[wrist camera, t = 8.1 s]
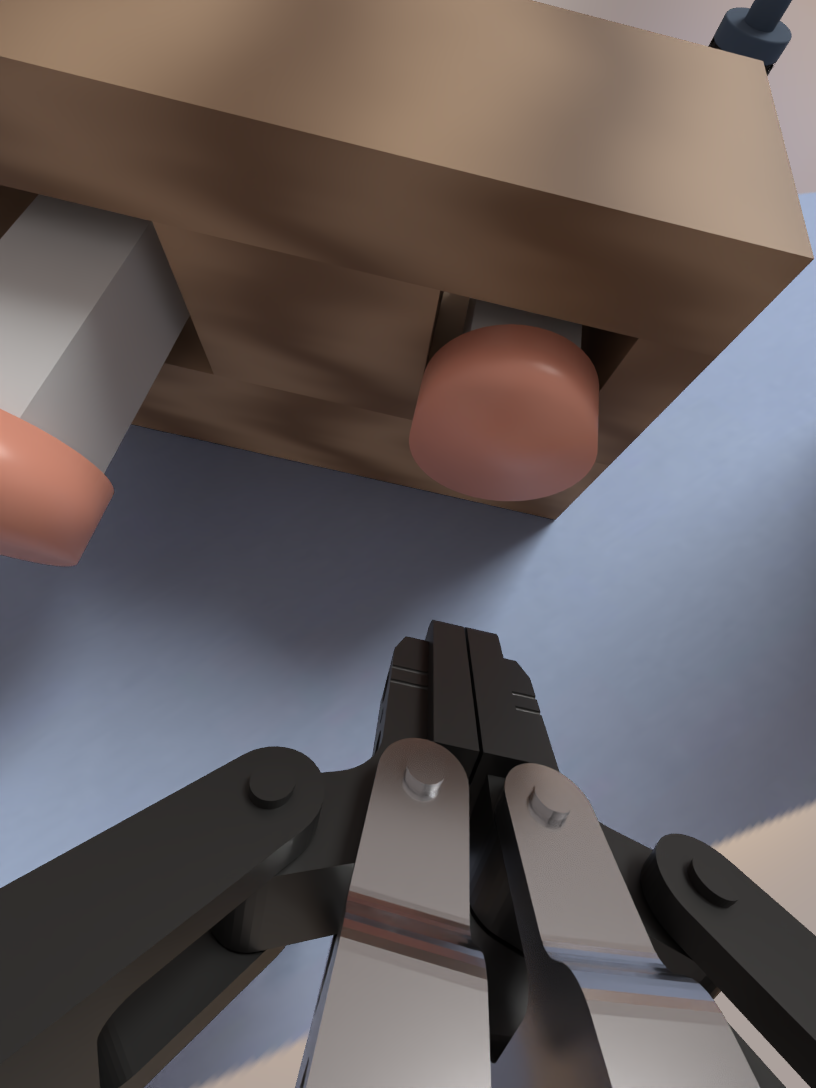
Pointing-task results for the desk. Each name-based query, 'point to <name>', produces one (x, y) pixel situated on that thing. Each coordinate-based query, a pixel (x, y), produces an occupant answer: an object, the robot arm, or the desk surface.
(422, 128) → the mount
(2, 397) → the knob
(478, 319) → the knob
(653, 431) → the desk surface
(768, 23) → the vaping device
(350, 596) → the desk surface
